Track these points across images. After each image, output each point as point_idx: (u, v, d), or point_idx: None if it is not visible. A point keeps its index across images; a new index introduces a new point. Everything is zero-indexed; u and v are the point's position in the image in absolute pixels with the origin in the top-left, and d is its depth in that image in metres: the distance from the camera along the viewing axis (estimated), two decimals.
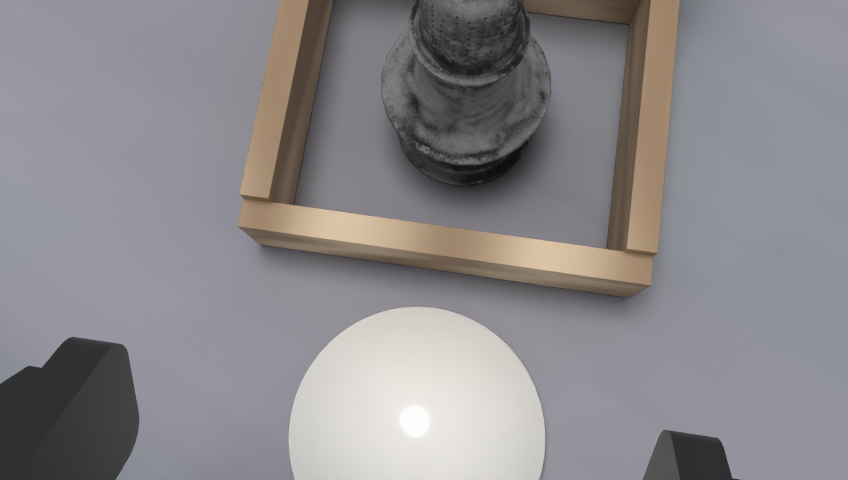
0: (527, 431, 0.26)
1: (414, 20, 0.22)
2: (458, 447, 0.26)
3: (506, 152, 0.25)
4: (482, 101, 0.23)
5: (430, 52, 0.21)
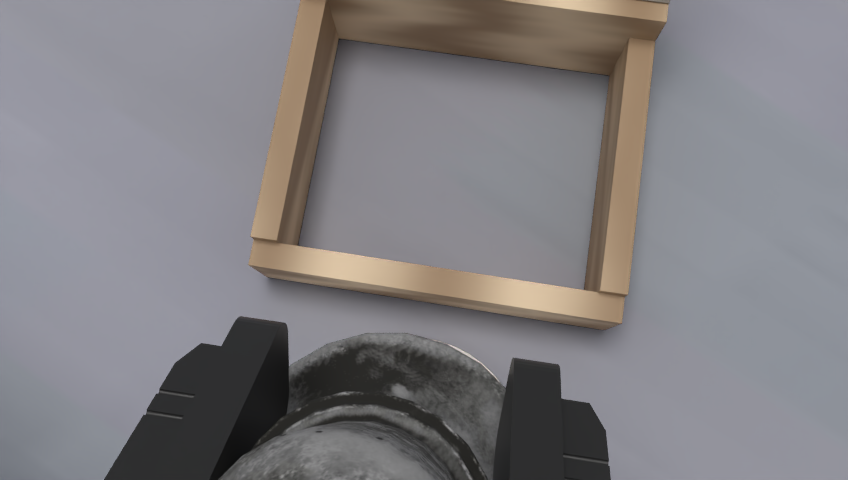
0: None
1: None
2: None
3: None
4: None
5: None
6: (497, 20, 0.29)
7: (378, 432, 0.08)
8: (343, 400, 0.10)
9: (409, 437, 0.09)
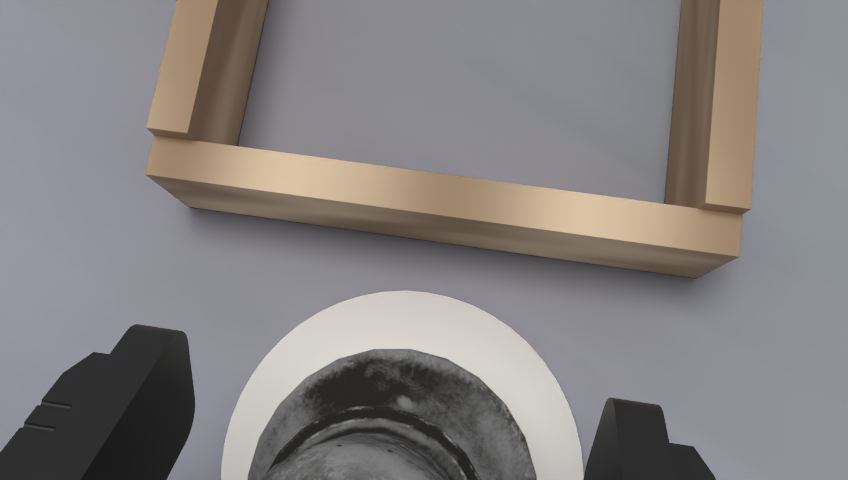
0: (558, 466, 0.18)
1: None
2: None
3: None
4: None
5: None
6: None
7: (388, 445, 0.09)
8: (356, 414, 0.11)
9: (414, 447, 0.10)
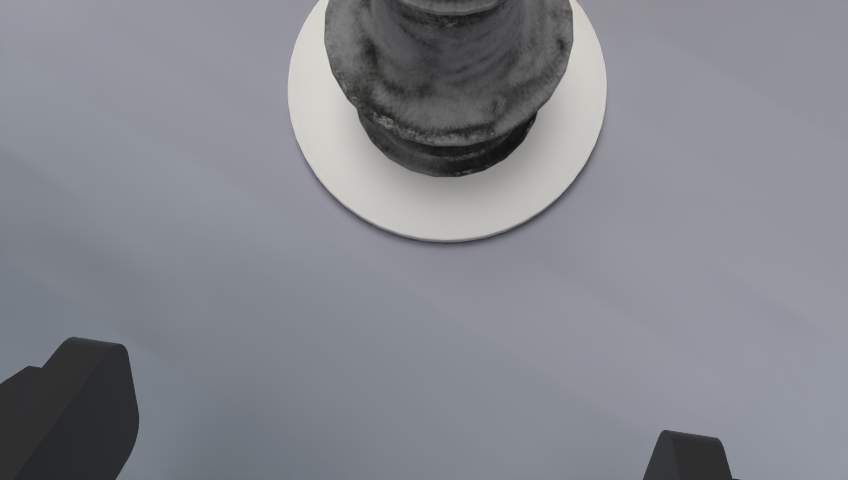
0: (584, 78, 0.21)
1: None
2: None
3: (507, 127, 0.17)
4: (472, 46, 0.15)
5: None
6: None
7: None
8: None
9: None
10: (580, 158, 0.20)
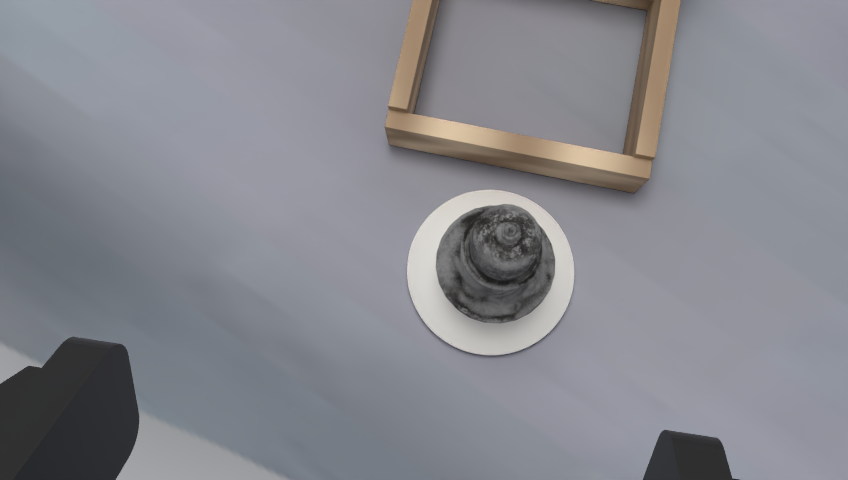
0: (563, 272, 0.40)
1: (465, 242, 0.32)
2: None
3: (520, 316, 0.36)
4: None
5: (475, 266, 0.32)
6: None
7: None
8: None
9: None
10: (558, 316, 0.39)
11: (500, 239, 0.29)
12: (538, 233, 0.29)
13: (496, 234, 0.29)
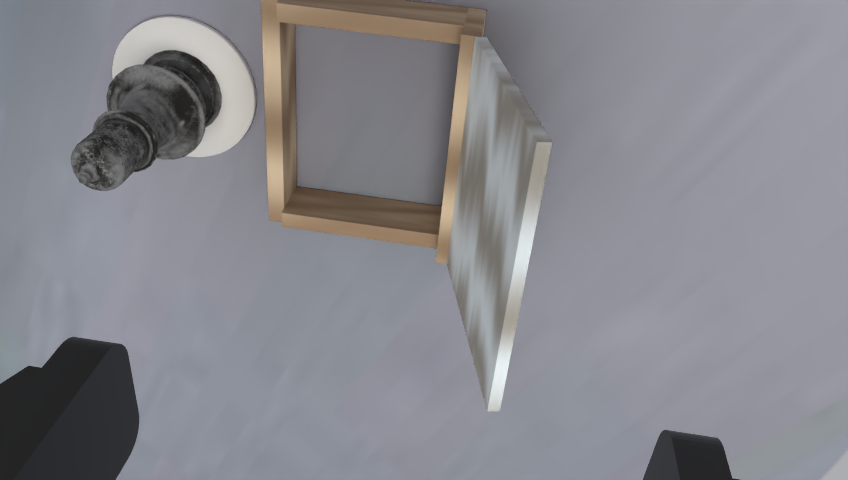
0: (198, 148, 0.48)
1: (118, 114, 0.39)
2: None
3: None
4: None
5: (101, 123, 0.39)
6: None
7: (130, 167, 0.38)
8: (151, 137, 0.39)
9: (142, 159, 0.39)
10: None
11: (82, 168, 0.36)
12: (105, 190, 0.37)
13: (85, 164, 0.36)
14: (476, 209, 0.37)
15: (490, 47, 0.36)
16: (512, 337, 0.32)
